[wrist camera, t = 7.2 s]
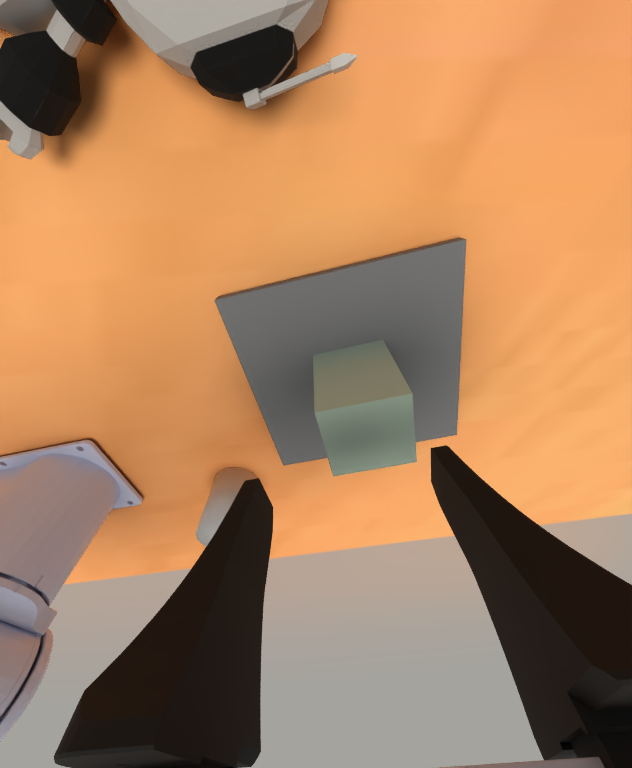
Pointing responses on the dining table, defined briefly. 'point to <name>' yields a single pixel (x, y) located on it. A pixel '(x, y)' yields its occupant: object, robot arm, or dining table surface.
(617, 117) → the dining table surface
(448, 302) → the mat
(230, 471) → the grey cylinder
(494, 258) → the dining table surface
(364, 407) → the block
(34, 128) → the robot toy
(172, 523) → the dining table surface
